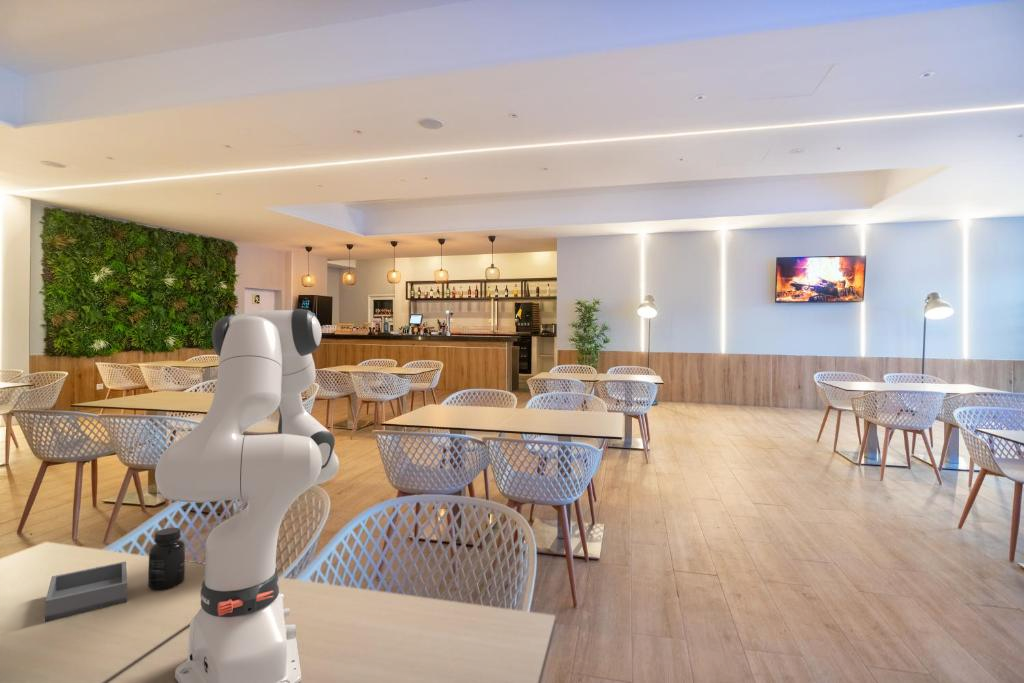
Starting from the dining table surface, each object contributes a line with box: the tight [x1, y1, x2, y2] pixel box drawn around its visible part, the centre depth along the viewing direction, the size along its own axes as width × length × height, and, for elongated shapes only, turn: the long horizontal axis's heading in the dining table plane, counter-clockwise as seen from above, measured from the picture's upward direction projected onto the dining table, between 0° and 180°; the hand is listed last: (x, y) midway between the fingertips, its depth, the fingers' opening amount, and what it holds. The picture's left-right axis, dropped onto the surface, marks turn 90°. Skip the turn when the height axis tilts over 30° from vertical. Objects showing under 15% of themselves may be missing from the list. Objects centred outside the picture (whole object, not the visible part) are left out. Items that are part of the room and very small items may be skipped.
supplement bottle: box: [147, 527, 186, 592], centre depth 112 cm, size 7×7×12 cm
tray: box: [44, 560, 128, 623], centre depth 106 cm, size 13×13×4 cm
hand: (221, 487), depth 121 cm, fingers open, 8 cm apart
